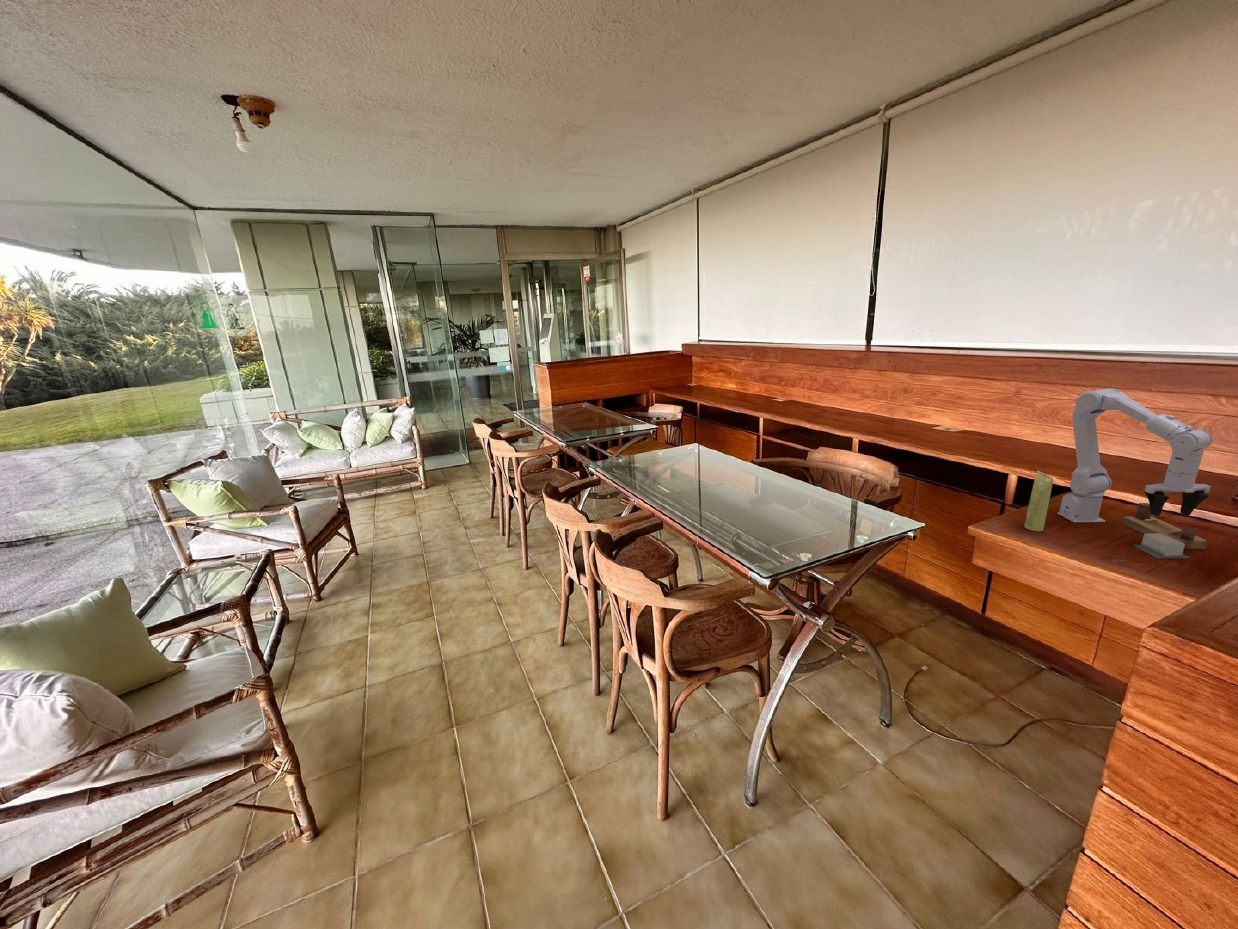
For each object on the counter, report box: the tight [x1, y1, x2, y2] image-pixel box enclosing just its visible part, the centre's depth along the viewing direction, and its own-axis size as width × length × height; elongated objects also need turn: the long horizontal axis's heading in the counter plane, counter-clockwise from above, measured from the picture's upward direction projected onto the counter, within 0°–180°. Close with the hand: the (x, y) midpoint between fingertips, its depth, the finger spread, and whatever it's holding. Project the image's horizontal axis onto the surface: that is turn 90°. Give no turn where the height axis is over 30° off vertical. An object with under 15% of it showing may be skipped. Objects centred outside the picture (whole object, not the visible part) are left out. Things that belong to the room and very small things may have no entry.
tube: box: [1024, 470, 1054, 532], centre depth 158 cm, size 6×5×20 cm
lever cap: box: [1140, 533, 1185, 557], centre depth 141 cm, size 4×7×4 cm, turn 174°
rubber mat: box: [1132, 544, 1191, 560], centre depth 141 cm, size 8×8×1 cm
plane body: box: [1121, 502, 1208, 550], centre depth 149 cm, size 8×18×8 cm, turn 172°
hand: (1169, 514), depth 143 cm, fingers open, 7 cm apart
